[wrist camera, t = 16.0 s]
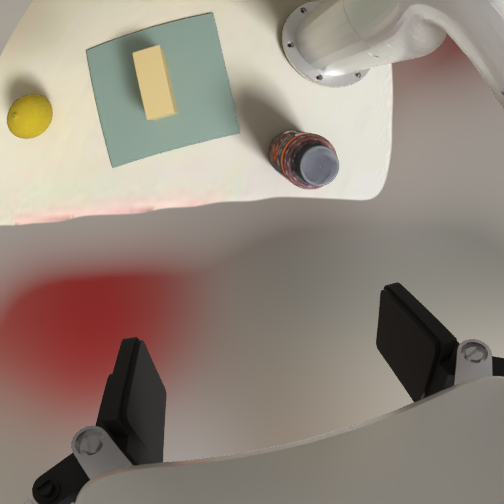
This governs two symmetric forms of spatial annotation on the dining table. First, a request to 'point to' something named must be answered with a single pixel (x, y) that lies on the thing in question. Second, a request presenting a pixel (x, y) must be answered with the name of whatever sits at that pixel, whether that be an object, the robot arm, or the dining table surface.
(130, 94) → the lid
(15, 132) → the lemon
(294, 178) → the supplement bottle
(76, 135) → the dining table surface
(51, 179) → the dining table surface
